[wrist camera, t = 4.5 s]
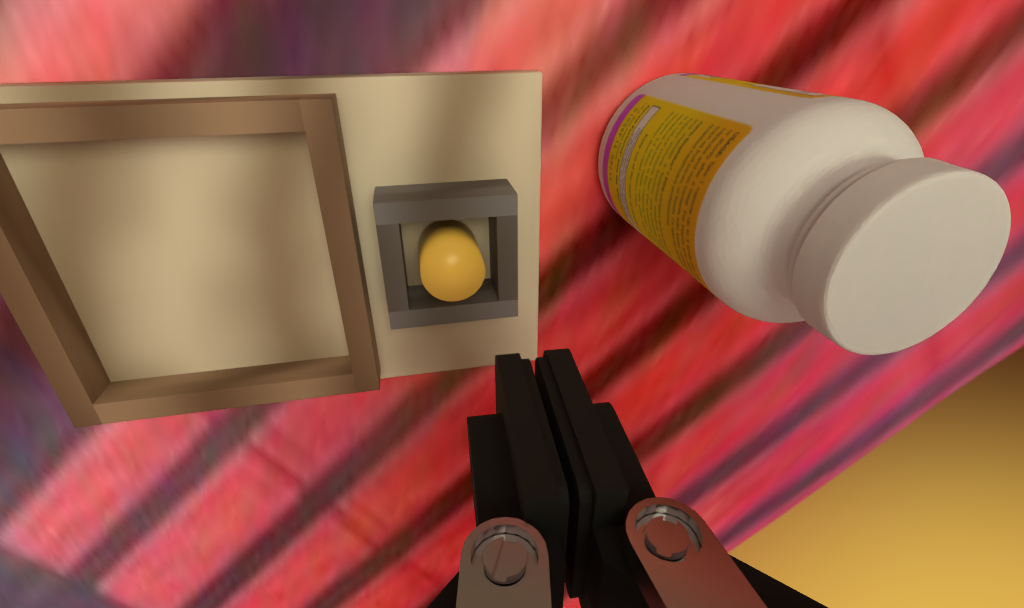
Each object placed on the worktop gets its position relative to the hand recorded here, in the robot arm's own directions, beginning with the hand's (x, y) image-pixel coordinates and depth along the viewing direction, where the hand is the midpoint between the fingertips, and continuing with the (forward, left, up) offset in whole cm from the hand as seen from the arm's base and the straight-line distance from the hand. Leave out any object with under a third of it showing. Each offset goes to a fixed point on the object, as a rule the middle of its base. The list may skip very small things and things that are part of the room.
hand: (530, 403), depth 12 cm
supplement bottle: (-9, -3, -13) cm, 16 cm away
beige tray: (+7, 0, -13) cm, 14 cm away
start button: (+1, 0, -11) cm, 11 cm away
